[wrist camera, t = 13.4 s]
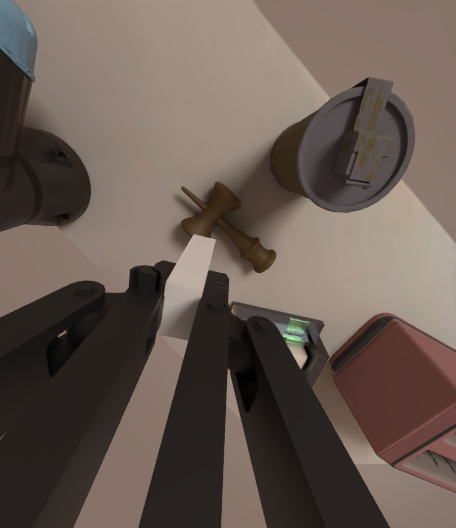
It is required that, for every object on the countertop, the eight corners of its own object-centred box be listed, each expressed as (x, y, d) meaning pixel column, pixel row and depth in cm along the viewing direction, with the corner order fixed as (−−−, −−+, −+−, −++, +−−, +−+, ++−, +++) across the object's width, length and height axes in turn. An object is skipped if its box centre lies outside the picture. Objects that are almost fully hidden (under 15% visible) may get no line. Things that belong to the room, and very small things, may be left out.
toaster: (424, 412, 61) (508, 522, 42) (323, 363, 55) (368, 467, 36) (490, 367, 54) (625, 477, 35) (382, 306, 48) (476, 398, 29)
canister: (324, 196, 39) (403, 226, 21) (264, 187, 39) (291, 210, 20) (347, 123, 34) (472, 78, 16) (279, 112, 34) (329, 54, 16)
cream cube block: (279, 352, 52) (282, 367, 48) (285, 339, 50) (289, 353, 47) (296, 356, 52) (300, 370, 49) (302, 343, 51) (307, 357, 47)
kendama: (248, 273, 46) (167, 206, 40) (283, 240, 43) (202, 162, 38) (251, 288, 41) (158, 213, 35) (291, 251, 38) (198, 162, 32)
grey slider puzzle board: (217, 356, 55) (214, 382, 48) (233, 301, 48) (232, 323, 42) (296, 372, 56) (304, 399, 49) (322, 321, 49) (335, 345, 43)
